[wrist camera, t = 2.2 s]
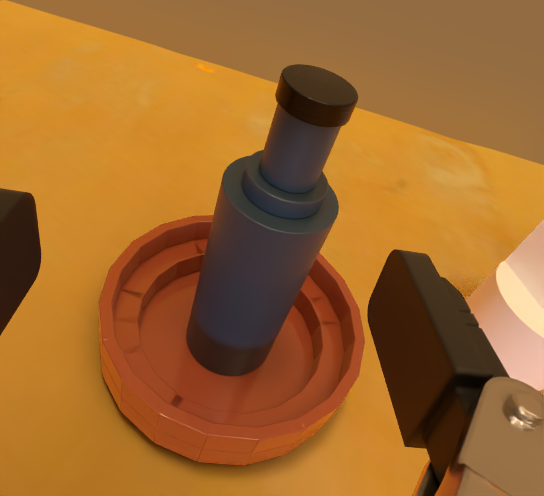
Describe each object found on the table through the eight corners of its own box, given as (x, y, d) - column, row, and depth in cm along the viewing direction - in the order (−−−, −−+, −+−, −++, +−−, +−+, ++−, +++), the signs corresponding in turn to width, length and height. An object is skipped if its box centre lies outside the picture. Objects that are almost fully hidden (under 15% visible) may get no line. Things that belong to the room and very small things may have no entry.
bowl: (41, 343, 27) (33, 299, 24) (214, 226, 38) (224, 186, 35) (247, 538, 23) (269, 515, 20) (374, 343, 34) (401, 309, 31)
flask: (167, 336, 29) (218, 64, 16) (223, 289, 33) (299, 40, 20) (235, 394, 27) (349, 143, 15) (285, 337, 31) (409, 100, 19)
